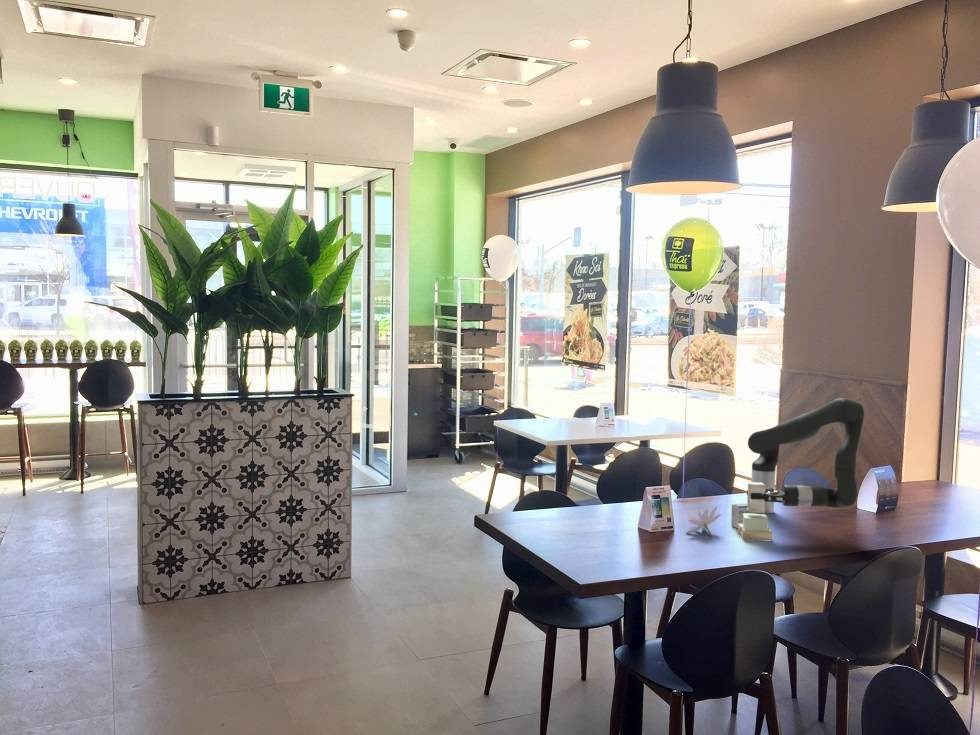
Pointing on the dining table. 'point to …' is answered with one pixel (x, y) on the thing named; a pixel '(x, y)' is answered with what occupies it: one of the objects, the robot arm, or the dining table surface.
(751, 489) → the tall white block
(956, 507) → the dining table surface
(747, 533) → the tower base block
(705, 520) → the water lily
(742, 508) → the medicine box
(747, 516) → the tower top block
